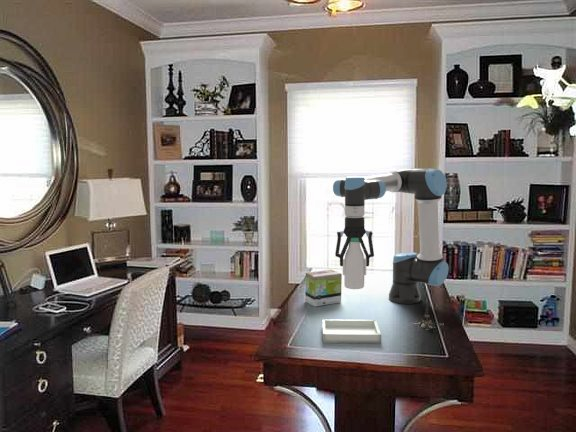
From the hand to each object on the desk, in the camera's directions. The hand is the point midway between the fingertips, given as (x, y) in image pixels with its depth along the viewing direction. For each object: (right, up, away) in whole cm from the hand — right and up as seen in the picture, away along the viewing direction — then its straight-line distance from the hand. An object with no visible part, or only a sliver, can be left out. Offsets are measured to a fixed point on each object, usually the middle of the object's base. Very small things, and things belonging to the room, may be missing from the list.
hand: (354, 274), depth 186 cm
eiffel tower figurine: (+32, -24, +12) cm, 41 cm away
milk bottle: (0, -5, +1) cm, 5 cm away
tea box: (-9, -19, +45) cm, 50 cm away
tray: (-1, -25, +3) cm, 25 cm away
